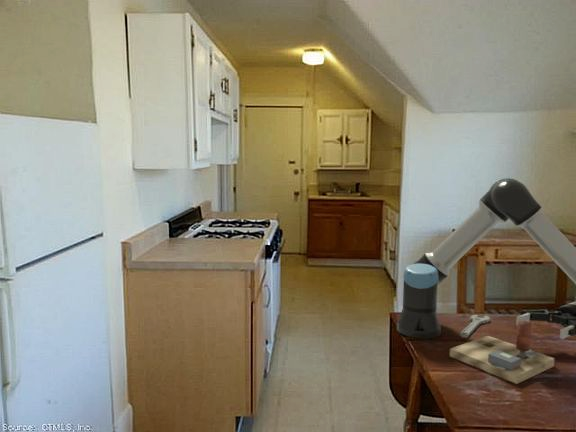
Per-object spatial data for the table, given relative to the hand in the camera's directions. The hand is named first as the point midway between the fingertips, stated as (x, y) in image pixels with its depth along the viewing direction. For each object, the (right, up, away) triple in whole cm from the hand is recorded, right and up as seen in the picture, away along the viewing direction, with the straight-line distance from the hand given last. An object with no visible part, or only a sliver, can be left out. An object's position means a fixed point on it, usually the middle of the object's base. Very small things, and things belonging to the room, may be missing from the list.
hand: (538, 327), depth 146 cm
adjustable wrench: (-9, -7, +30) cm, 32 cm away
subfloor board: (-12, -10, 0) cm, 16 cm away
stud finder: (-14, -9, -9) cm, 19 cm away
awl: (-7, -11, -3) cm, 13 cm away
